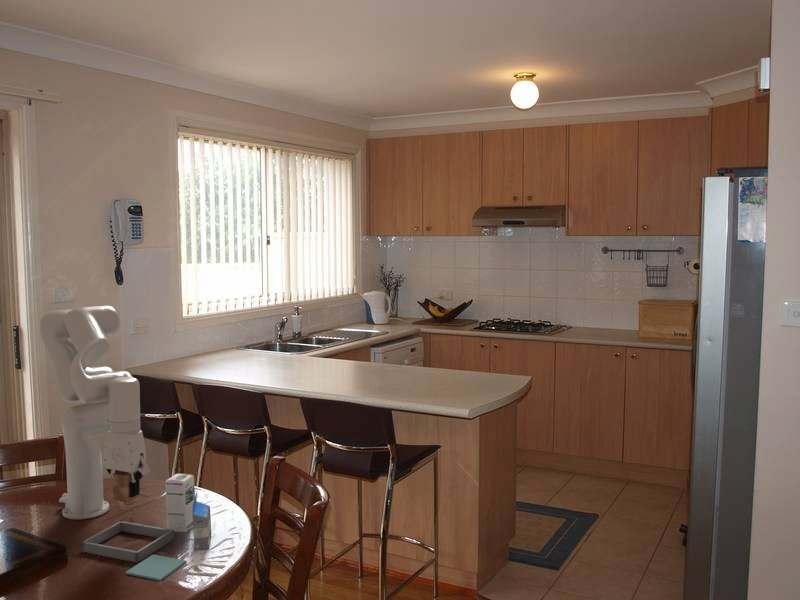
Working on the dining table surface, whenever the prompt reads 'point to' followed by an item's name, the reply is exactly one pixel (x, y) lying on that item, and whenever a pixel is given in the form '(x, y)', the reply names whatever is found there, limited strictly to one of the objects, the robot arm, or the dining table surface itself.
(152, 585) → the dining table surface
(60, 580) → the dining table surface
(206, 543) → the label tape box
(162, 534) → the grey rectangular frame
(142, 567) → the mat
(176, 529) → the syrup box
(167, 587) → the dining table surface
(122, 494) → the wooden block
